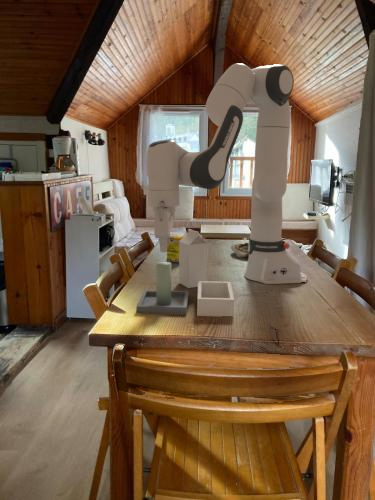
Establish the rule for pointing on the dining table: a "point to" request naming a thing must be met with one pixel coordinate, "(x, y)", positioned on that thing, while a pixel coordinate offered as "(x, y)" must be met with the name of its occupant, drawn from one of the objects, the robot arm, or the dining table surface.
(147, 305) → the tray
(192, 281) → the milk carton
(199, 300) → the white open box
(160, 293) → the dowel pin
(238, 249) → the pie
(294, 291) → the dining table surface
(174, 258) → the supplement box
